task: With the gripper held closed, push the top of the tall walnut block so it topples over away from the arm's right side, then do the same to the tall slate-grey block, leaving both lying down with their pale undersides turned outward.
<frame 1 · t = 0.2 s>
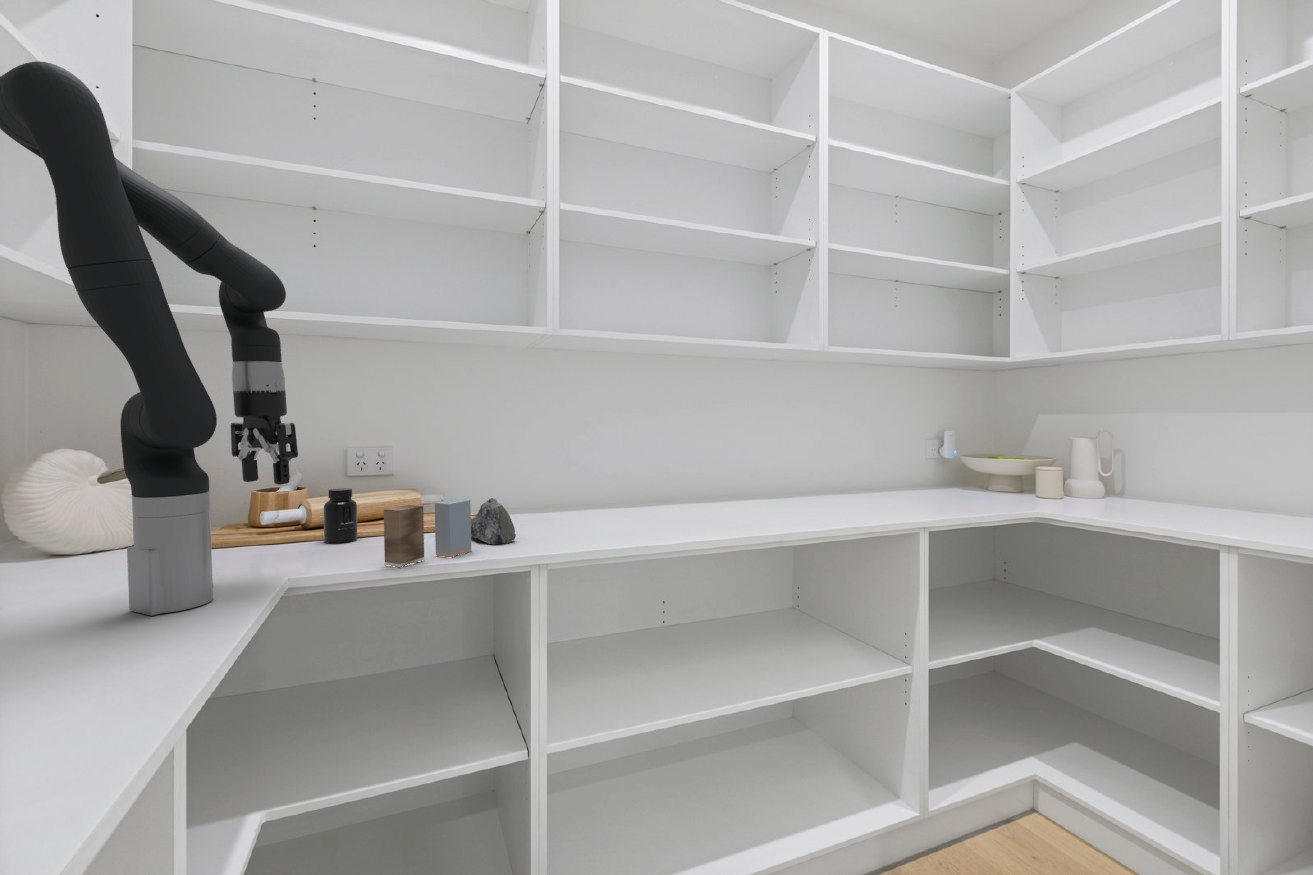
hand: (266, 482, 103), 17 cm above the worktop, tool pointing down, fingers open, 8 cm apart
mineral rock: (491, 541, 138), on the worktop
supplement bottle: (341, 541, 137), on the worktop
walnut block: (404, 563, 116), on the worktop
slate block: (453, 553, 124), on the worktop
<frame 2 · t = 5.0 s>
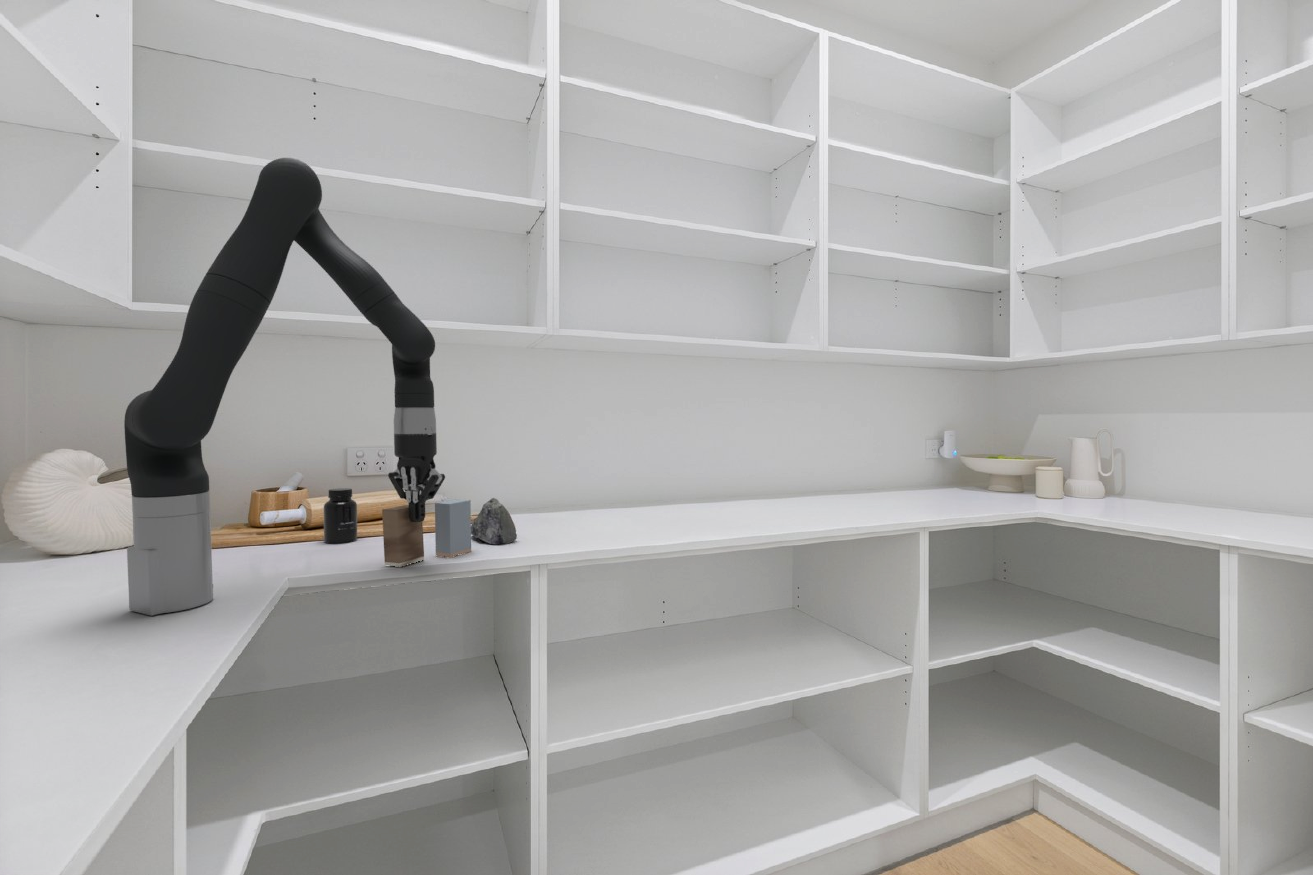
hand: (417, 521, 114), 9 cm above the worktop, tool pointing down, fingers closed
walnut block: (404, 563, 116), on the worktop, touching gripper
everything else where it was.
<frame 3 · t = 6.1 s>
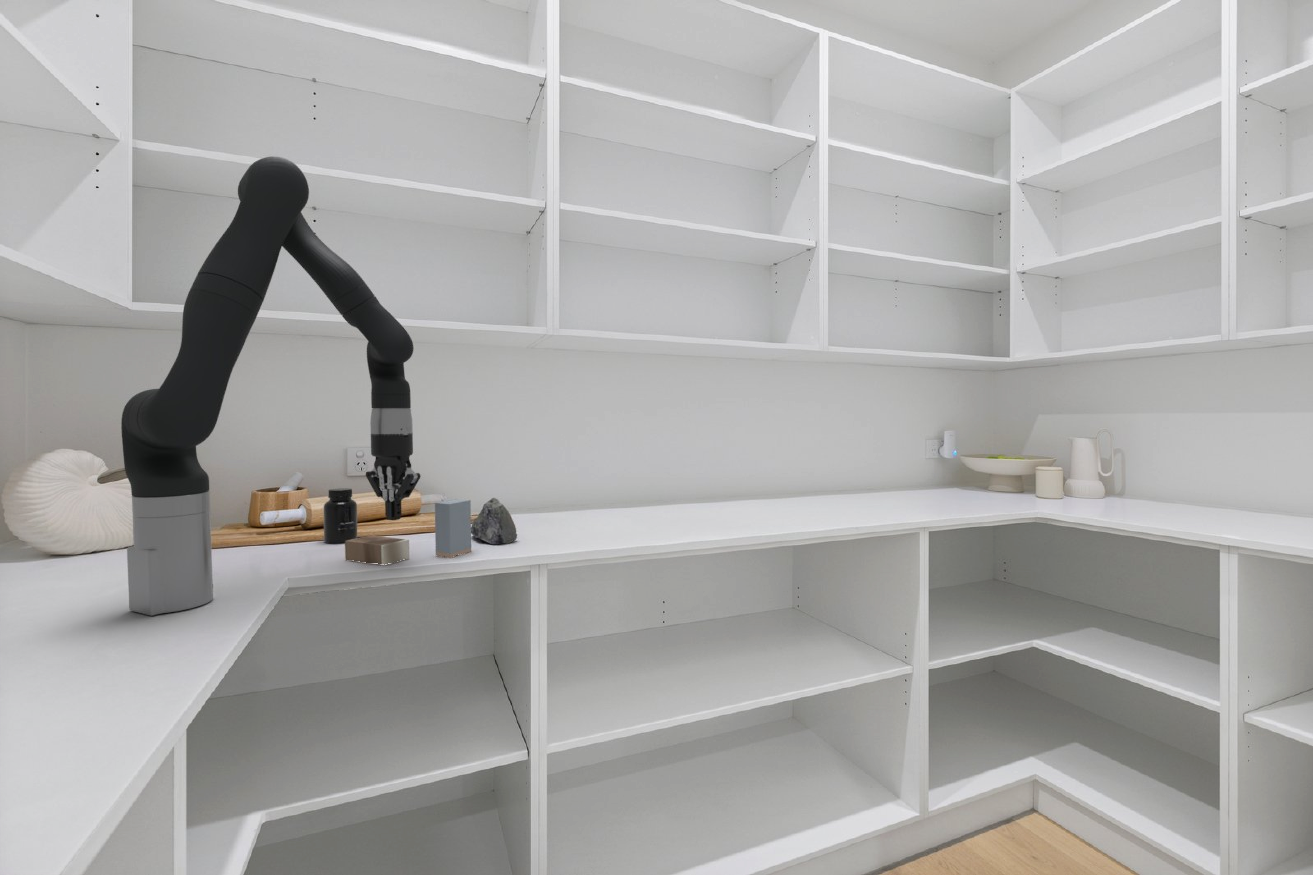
hand: (393, 519, 117), 8 cm above the worktop, tool pointing down, fingers closed
walnut block: (397, 552, 117), point 2 cm above the worktop, tilted 90°
everything else where it was.
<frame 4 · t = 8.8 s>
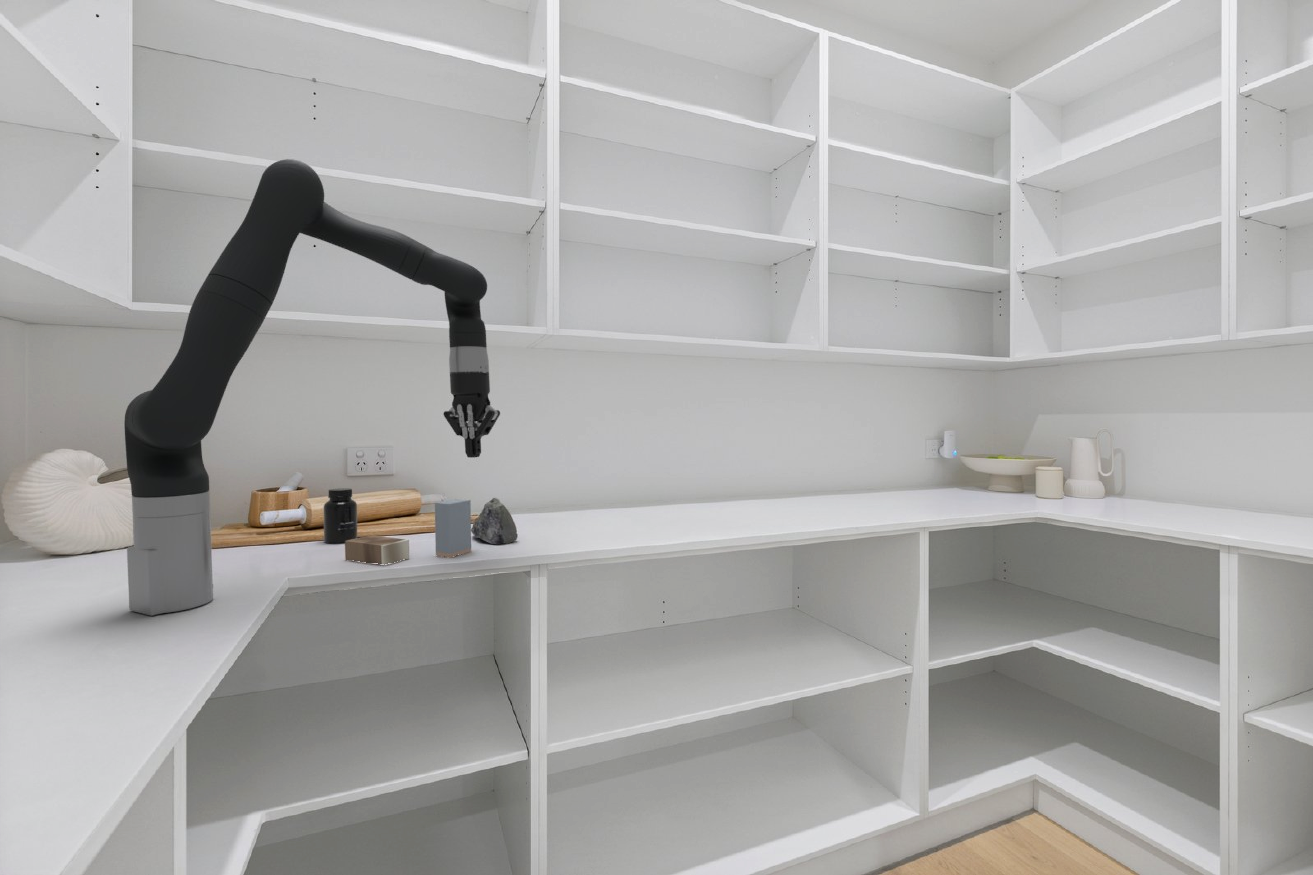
hand: (473, 457, 120), 21 cm above the worktop, tool pointing down, fingers closed
nothing on the worktop moved.
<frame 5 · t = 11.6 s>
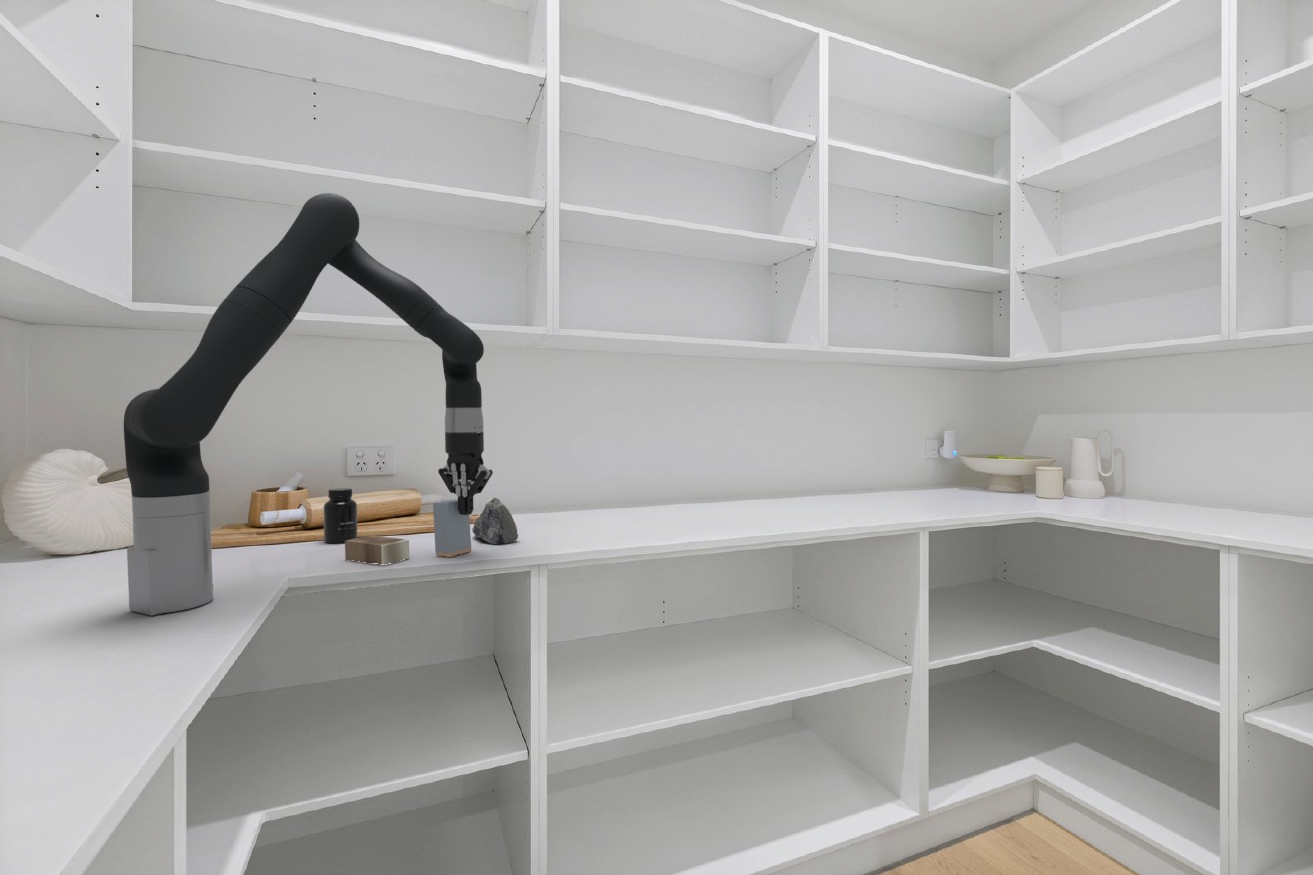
hand: (466, 514, 122), 9 cm above the worktop, tool pointing down, fingers closed
slate block: (453, 553, 124), on the worktop, touching gripper
everything else where it was.
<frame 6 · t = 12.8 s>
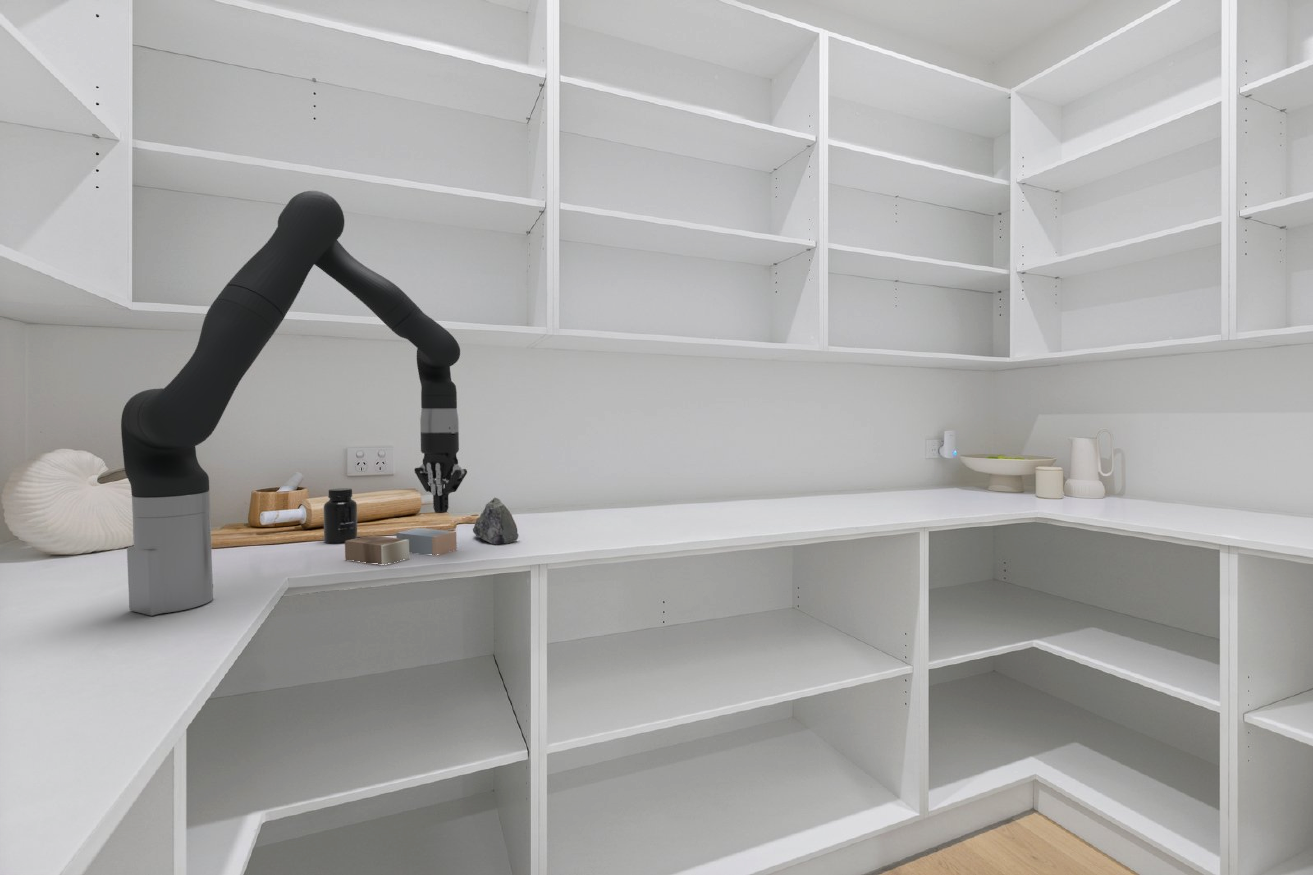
hand: (441, 512, 125), 8 cm above the worktop, tool pointing down, fingers closed
slate block: (446, 543, 125), point 2 cm above the worktop, tilted 90°
everything else where it was.
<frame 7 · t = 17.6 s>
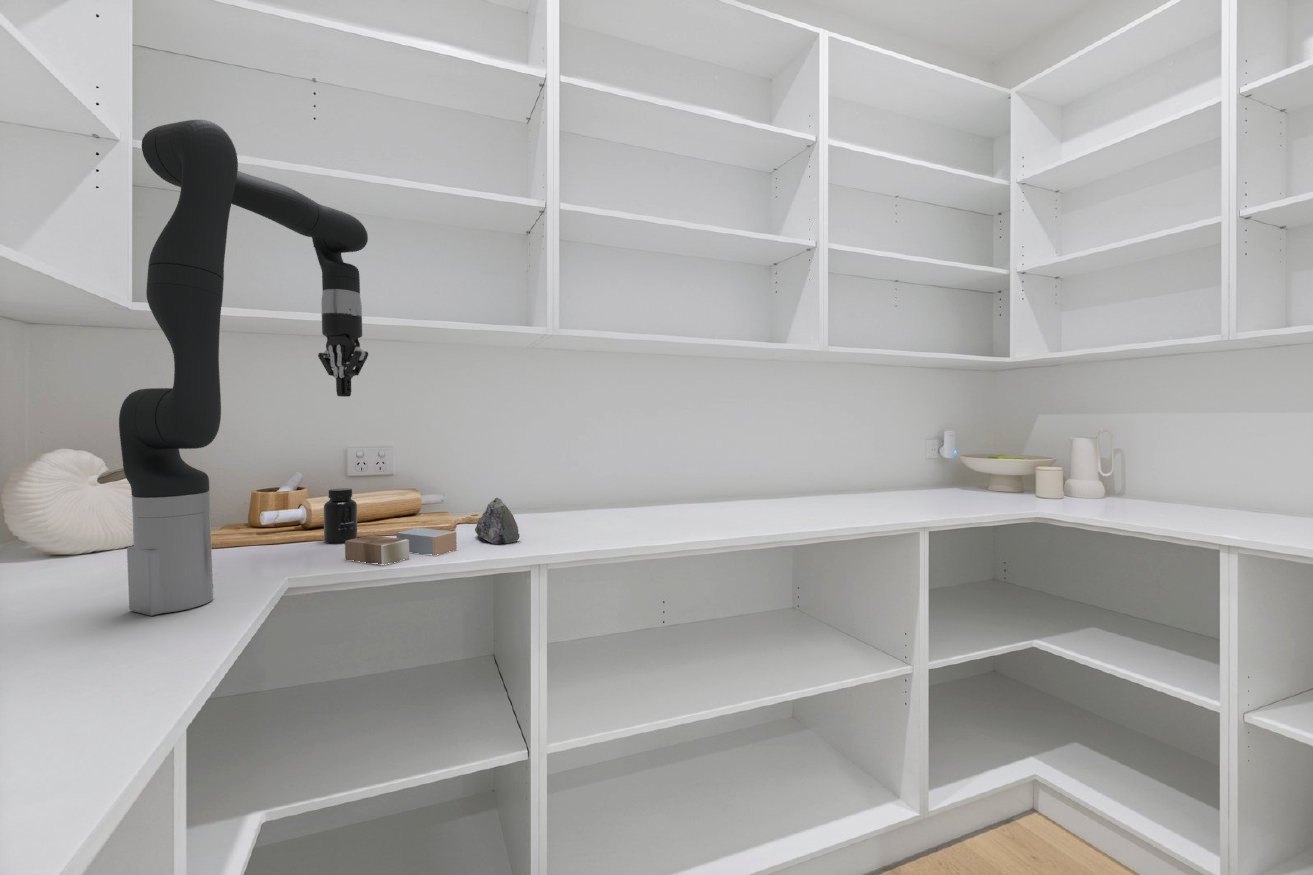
hand: (344, 396, 126), 33 cm above the worktop, tool pointing down, fingers closed
at the end: walnut block tilted 90°; slate block tilted 90°; walnut block inside the target area (3.9 cm from its centre), point 1.9 cm above the worktop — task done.
